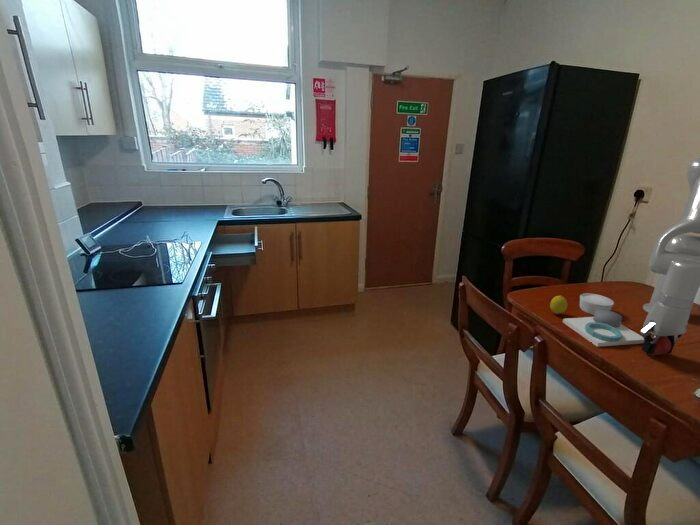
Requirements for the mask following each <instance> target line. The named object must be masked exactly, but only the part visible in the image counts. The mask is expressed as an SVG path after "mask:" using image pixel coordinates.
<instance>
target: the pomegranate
mask: <svg viewBox="0 0 700 525" xmlns="http://www.w3.org/2000/svg"><path fill="white" fill-rule="evenodd" d="M651 337H652V339H653V337H654V335H651ZM655 344H656V347H655V350H654V352H653V355H655V356H659V355H663V354H668V353H667V352H669V351H670V349H671V342H670V340H669V339H668V338H667V337H666V336H660V337H659V338H658V340H657V341H656V342H655Z"/></svg>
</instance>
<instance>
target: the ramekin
mask: <svg viewBox="0 0 700 525" xmlns="http://www.w3.org/2000/svg"><path fill="white" fill-rule="evenodd" d="M614 306H615V302H614V300H612V299H611V298H609V297H606V296H604V295H601V294H596V293H589V292H588V293H587V292H586V293H582V294H580V295H579V307H580V309H581V310H582V312H584V313H587V314H589V315H592V316H594V314H595V311H596V310H599V309H603V310H609V311H612V308H613V307H614Z"/></svg>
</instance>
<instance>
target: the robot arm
mask: <svg viewBox="0 0 700 525" xmlns="http://www.w3.org/2000/svg"><path fill="white" fill-rule="evenodd" d="M686 174H687V181H688V185H689V195H688V197H687V201H686V203H685V206H684V209H683V212H682V214H681V218H680V221H678V222H677V223H675V224H673V225H672V226H669V227H668V228H667V229H666V230H664V231H663V232H662V233H661V234H660V235H659V236H658V237H657V239H656V240H655V243H654V246H653V249H652V251H651V254H650V258H649V260H648V268H649V271H651V272H652V273H655V274H659V276H658V278H657V280H656V283H655V286H654V289H653V292H652V295H651V298H650V301H649V303H644V304H643V305H642V309H643V310H644V311H645V312H646V313H647V315H646V317H645V320H644V322H643V326H642V329H641V330H640V331H639V333H640V335H641V336H642V337H644V339H645V341H644V343H642V347H641V351H643V352H644V353H646V354H648V355H649V356H653V355H654V354H653V352H654V350H655V347H656V344H655V342H656V341H657V340H658V338H659V337H660V336H666V337H667V338H668V339H669V340H670V342H671V349H670V351H669V352H667V353H666V354H672V351H673V349H674V346H675V344H676V343H677V342H678V340H679V339H680V338H681V337H682V335H684V334H685V333H687V331H688V329H687V326H688V324H689V319H690V315H691V311H692V310H691V309H692V308H693V303H694V301H695V299H696V296H697V294H698V291H699V288H700V236H699V235H700V158H695V159H694V160H692V161H690V162H689V164H688V167H687V173H686ZM687 233H694V234H698V235H694V234H692V235H691V234H687ZM652 335H654V337H653V339H652V337H651V336H652Z"/></svg>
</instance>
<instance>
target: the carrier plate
mask: <svg viewBox="0 0 700 525" xmlns="http://www.w3.org/2000/svg"><path fill="white" fill-rule="evenodd" d="M622 320H623V316H622V315H621V314H619V313H617V312H615V311H612V310H610V311H609V310H603V309H599V310H596V311H595V314H594V315H593V316H584V317H571V318H570V317H567V318H566V317H565V318H563V319H562V323H563V324H564V325H566V326H568V328H570V329H571V330H573V331H575V332H576V333H577V334H579V335H580V336H581V337H583V338H584V339H585V340H587V341H588V342H590V343H591V342H592V343H591V344H593V345H594V346H596V347H599V348H600V347H612V346H623V345H624V346H625V345H637V344H638V345H639V344H643V343H644V341H645V339H644V337H643V336H642V335H641V334H639V333H637V332H636V331H633V330H631V329H630V328H628V327H627V326H625V325H623V324H622Z"/></svg>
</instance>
